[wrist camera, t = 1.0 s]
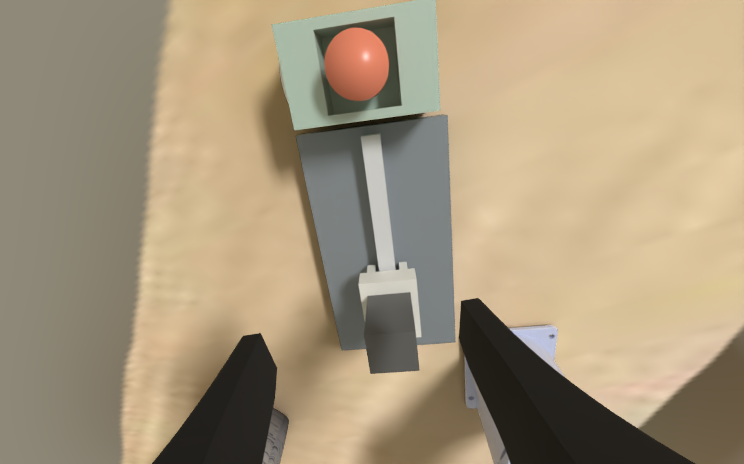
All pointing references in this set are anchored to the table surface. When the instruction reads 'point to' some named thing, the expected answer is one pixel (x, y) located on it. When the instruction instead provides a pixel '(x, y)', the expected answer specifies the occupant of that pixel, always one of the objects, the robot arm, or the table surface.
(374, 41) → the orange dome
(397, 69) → the end cabinet
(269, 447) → the juice carton
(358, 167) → the rail board
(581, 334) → the table surface
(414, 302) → the carriage
